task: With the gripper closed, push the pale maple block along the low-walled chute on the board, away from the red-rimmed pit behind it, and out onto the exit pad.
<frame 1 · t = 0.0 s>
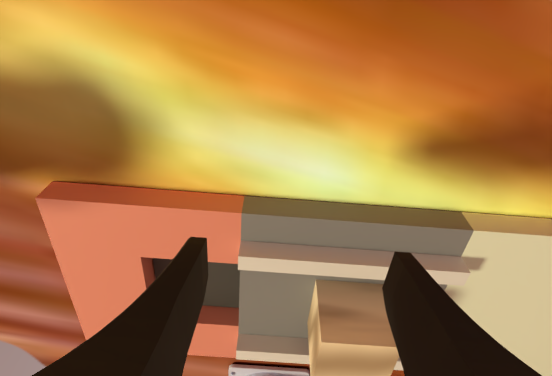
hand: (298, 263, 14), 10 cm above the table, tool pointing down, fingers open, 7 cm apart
maple block: (344, 304, 27), point 2 cm above the table, touching chute board
chute board: (340, 284, 29), on the table
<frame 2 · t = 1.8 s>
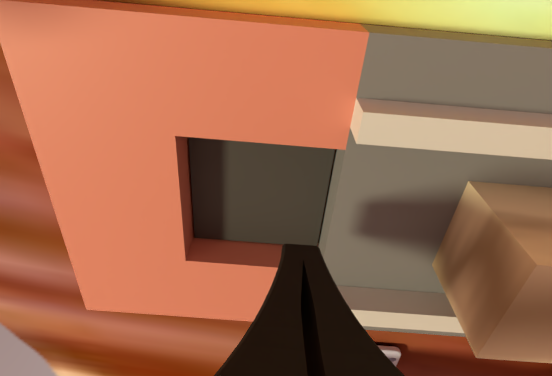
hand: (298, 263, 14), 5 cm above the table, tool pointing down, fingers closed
maple block: (501, 230, 17), point 2 cm above the table, touching chute board
chute board: (481, 205, 18), on the table
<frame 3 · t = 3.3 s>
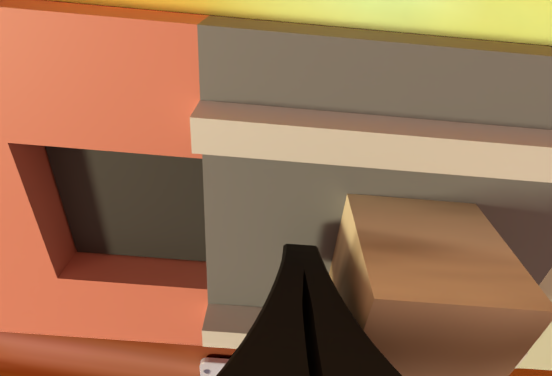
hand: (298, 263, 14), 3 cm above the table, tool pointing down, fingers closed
maple block: (394, 247, 15), point 2 cm above the table, touching chute board, gripper
chute board: (383, 218, 17), on the table
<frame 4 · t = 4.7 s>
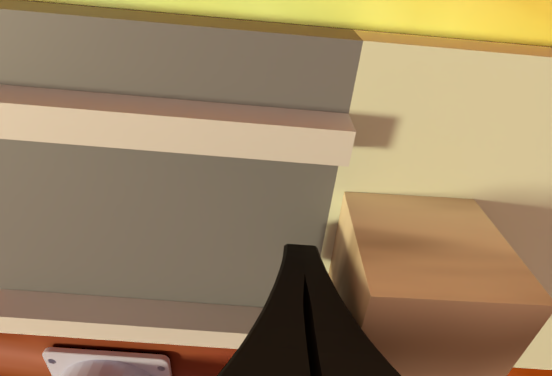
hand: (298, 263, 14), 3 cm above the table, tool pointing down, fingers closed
maple block: (393, 244, 15), point 2 cm above the table, touching gripper
chute board: (169, 201, 17), on the table
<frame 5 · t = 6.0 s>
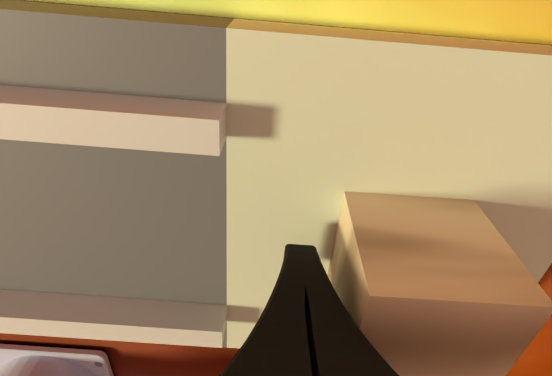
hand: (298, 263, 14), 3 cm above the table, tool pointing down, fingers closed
maple block: (393, 244, 15), point 2 cm above the table, touching chute board, gripper
chute board: (81, 195, 16), on the table
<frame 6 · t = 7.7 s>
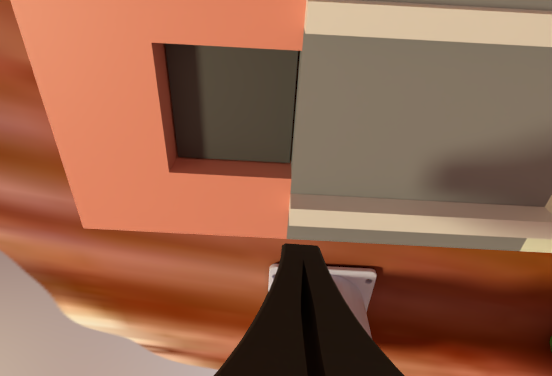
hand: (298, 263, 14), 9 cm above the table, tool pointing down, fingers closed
chute board: (436, 115, 20), on the table
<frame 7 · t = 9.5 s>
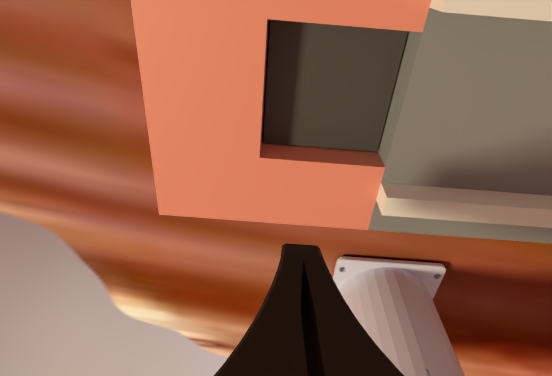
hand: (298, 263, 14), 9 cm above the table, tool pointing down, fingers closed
chute board: (535, 105, 20), on the table
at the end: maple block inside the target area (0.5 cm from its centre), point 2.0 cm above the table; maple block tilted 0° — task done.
